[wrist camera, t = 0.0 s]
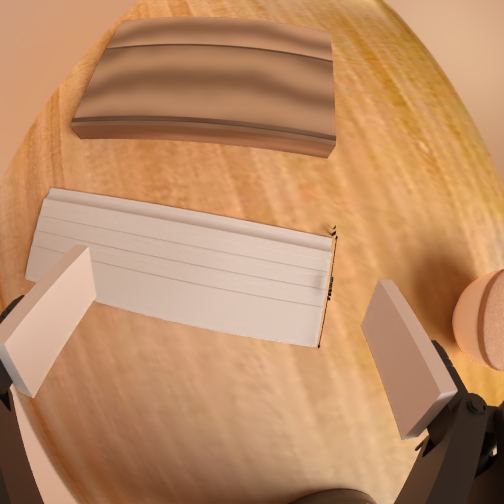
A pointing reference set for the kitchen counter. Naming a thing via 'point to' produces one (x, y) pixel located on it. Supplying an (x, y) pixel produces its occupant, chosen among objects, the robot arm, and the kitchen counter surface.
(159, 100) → the grooved tan panel
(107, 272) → the baseboard molding
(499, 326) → the lidded jar
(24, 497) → the robot arm
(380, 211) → the kitchen counter surface
